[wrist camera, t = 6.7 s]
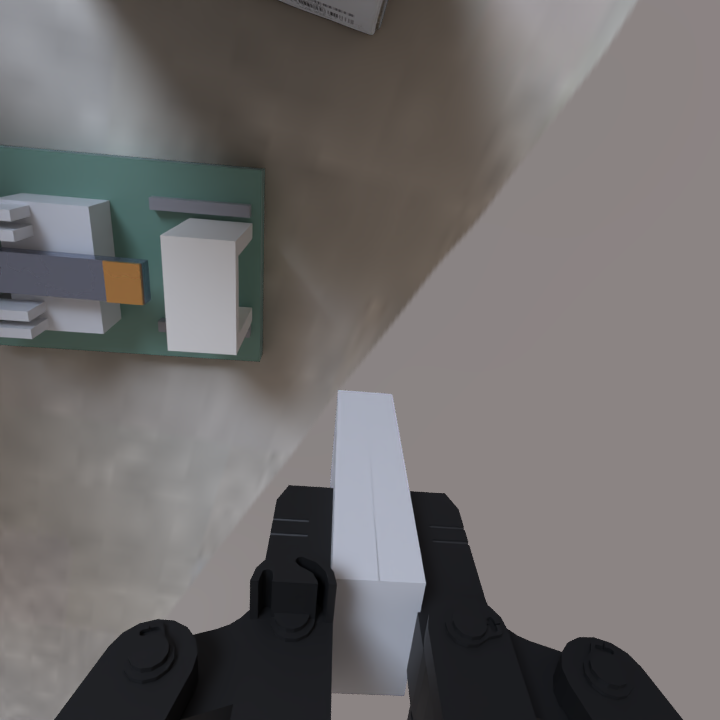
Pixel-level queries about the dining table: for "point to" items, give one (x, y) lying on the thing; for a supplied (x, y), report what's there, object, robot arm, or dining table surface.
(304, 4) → the hard drive box
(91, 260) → the grey rectangular bar
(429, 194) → the dining table surface
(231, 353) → the white open-sided box
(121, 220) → the board
